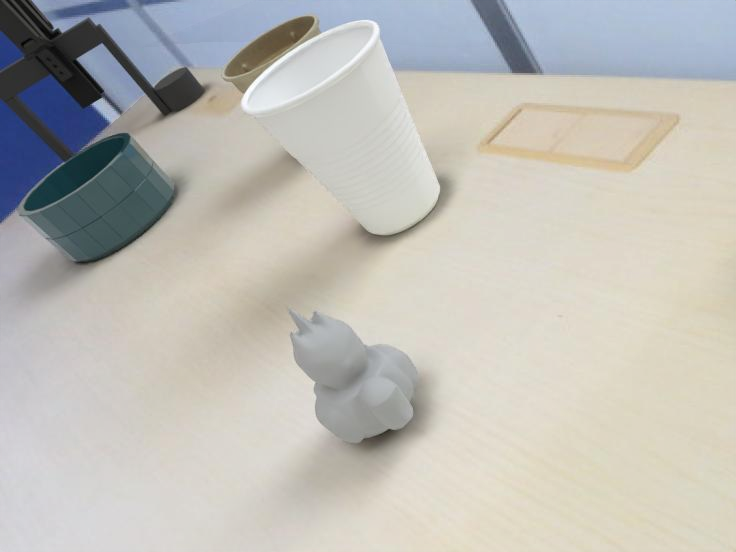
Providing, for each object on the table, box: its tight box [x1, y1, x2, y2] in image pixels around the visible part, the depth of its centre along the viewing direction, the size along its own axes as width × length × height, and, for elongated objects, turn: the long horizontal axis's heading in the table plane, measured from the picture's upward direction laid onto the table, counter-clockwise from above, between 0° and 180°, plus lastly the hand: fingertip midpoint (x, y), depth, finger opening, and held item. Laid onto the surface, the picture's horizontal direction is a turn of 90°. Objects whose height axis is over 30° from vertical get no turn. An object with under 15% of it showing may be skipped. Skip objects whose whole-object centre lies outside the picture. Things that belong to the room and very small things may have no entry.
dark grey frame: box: [0, 17, 206, 162], centre depth 91 cm, size 20×5×12 cm, turn 114°
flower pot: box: [220, 13, 322, 95], centre depth 65 cm, size 9×9×9 cm
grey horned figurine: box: [286, 305, 420, 444], centre depth 37 cm, size 5×7×8 cm
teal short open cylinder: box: [16, 132, 175, 263], centre depth 73 cm, size 12×12×6 cm
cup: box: [240, 19, 441, 236], centre depth 50 cm, size 10×10×11 cm
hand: (93, 99), depth 92 cm, fingers closed on dark grey frame, 2 cm apart
